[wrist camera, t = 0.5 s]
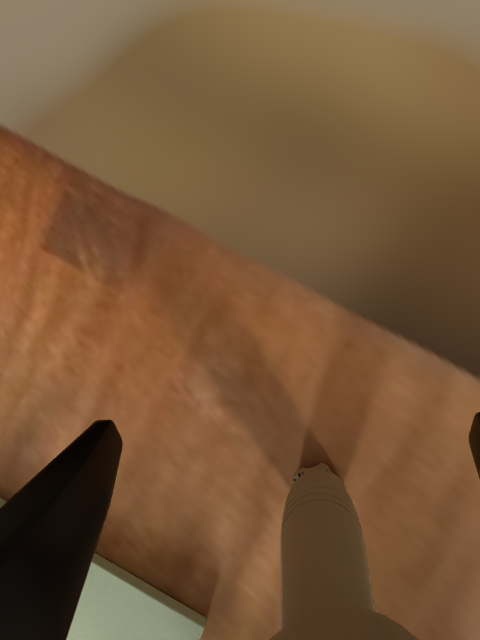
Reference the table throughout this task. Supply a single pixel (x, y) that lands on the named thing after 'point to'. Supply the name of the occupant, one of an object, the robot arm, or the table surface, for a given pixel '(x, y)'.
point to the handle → (327, 566)
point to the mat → (128, 608)
